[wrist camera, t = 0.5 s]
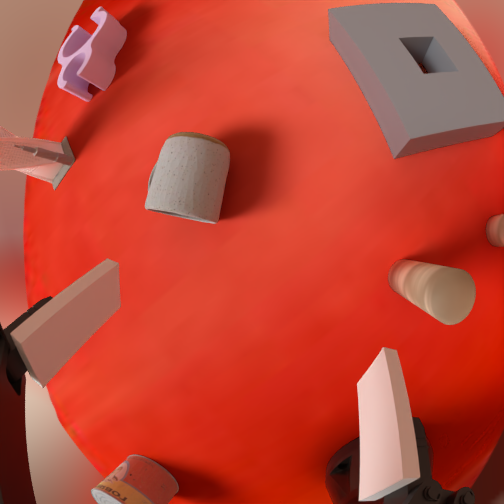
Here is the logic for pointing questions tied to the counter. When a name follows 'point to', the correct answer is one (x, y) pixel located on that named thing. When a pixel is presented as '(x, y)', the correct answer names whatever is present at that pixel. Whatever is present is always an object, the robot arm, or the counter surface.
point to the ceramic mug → (189, 177)
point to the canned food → (136, 483)
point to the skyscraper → (35, 157)
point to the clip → (91, 55)
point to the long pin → (434, 289)
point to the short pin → (495, 230)
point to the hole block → (417, 75)
